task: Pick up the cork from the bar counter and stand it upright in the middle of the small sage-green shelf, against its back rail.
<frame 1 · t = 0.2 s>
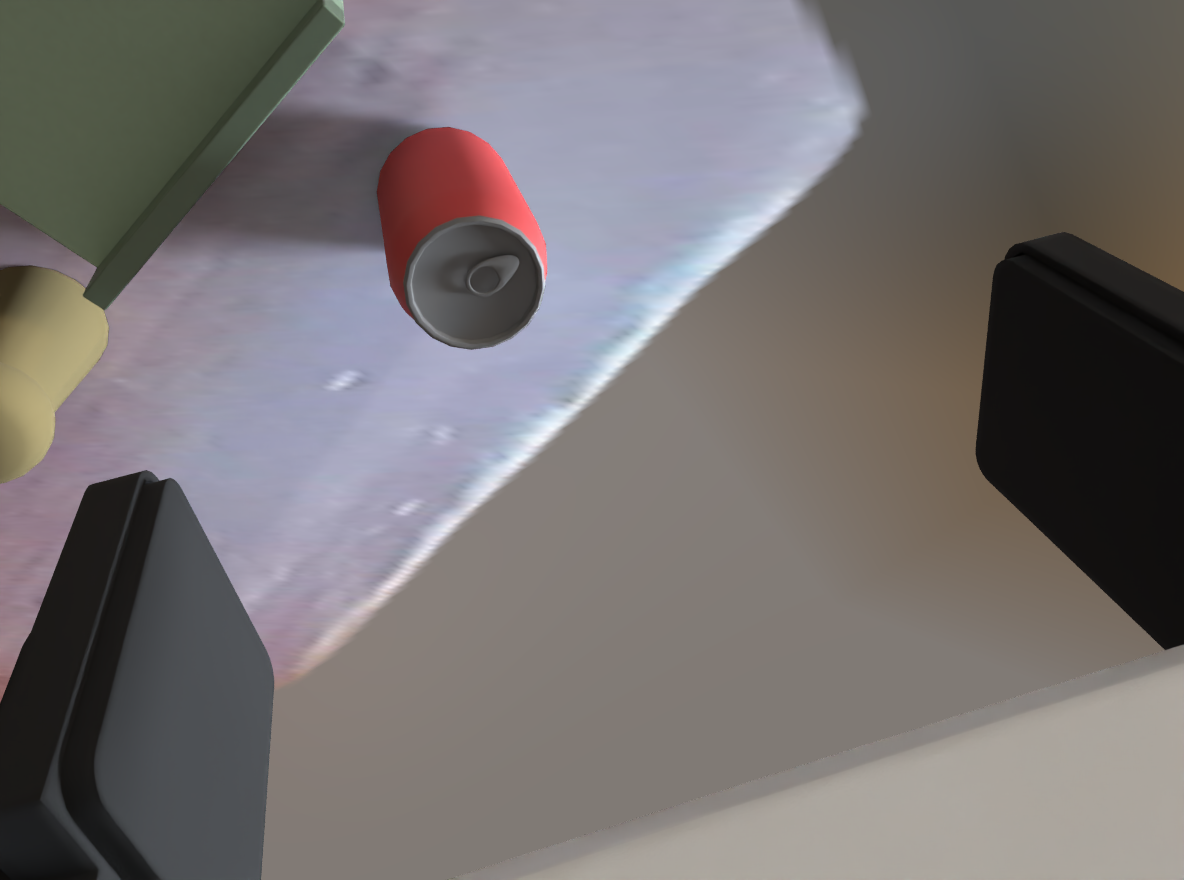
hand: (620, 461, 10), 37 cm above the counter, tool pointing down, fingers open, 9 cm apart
cork: (40, 322, 44), on the counter
shelf: (112, 22, 38), on the counter
beer can: (443, 190, 46), on the counter
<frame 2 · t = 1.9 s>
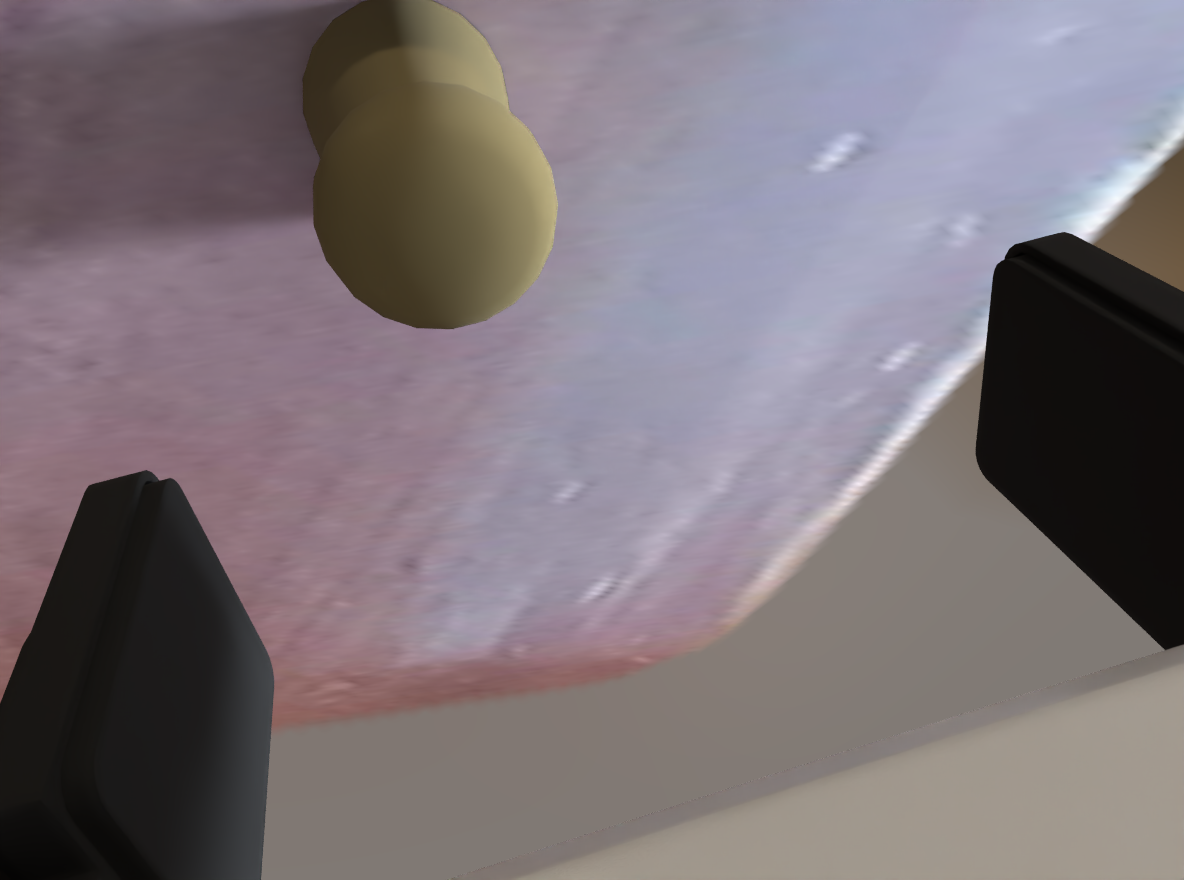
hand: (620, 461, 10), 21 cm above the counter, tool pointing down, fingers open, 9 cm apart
cork: (407, 104, 27), on the counter
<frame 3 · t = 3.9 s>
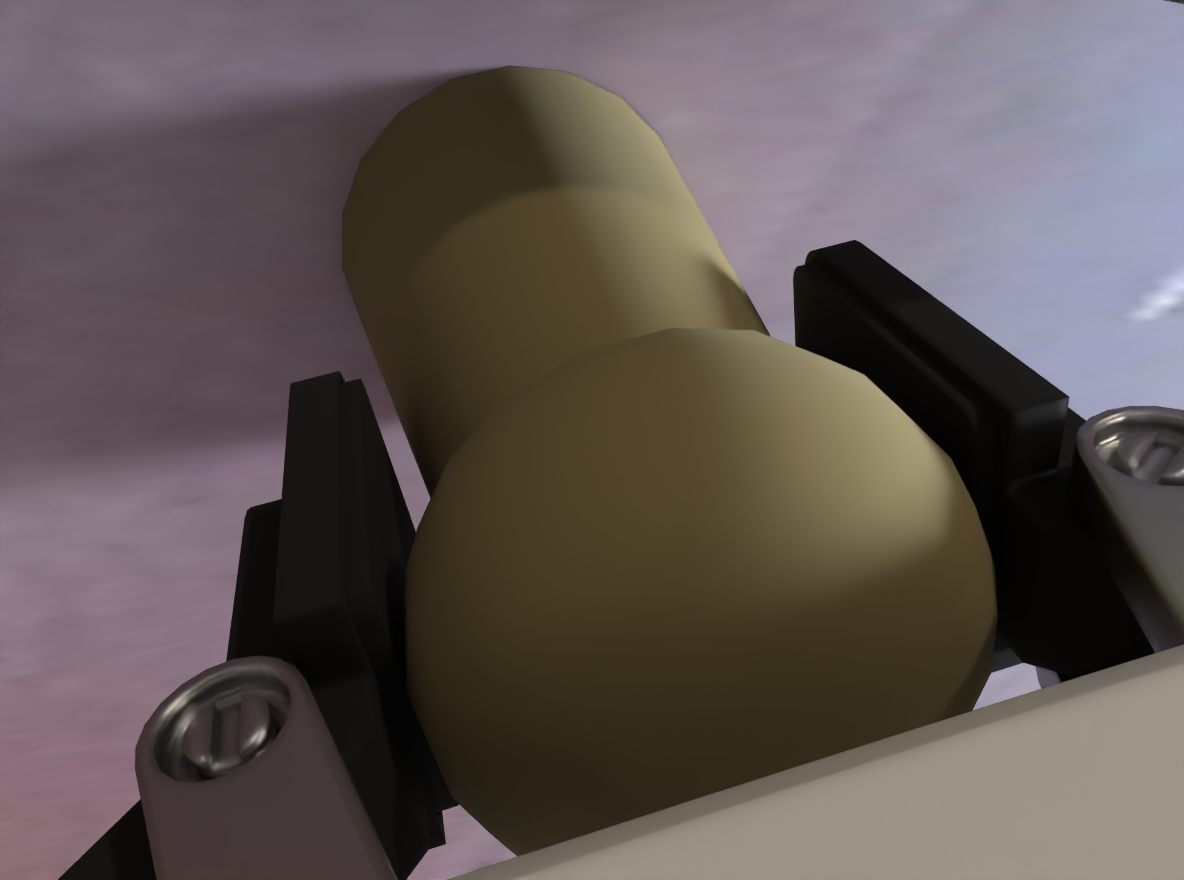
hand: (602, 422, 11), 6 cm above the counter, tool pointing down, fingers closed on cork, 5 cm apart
cork: (518, 246, 16), on the counter, touching gripper
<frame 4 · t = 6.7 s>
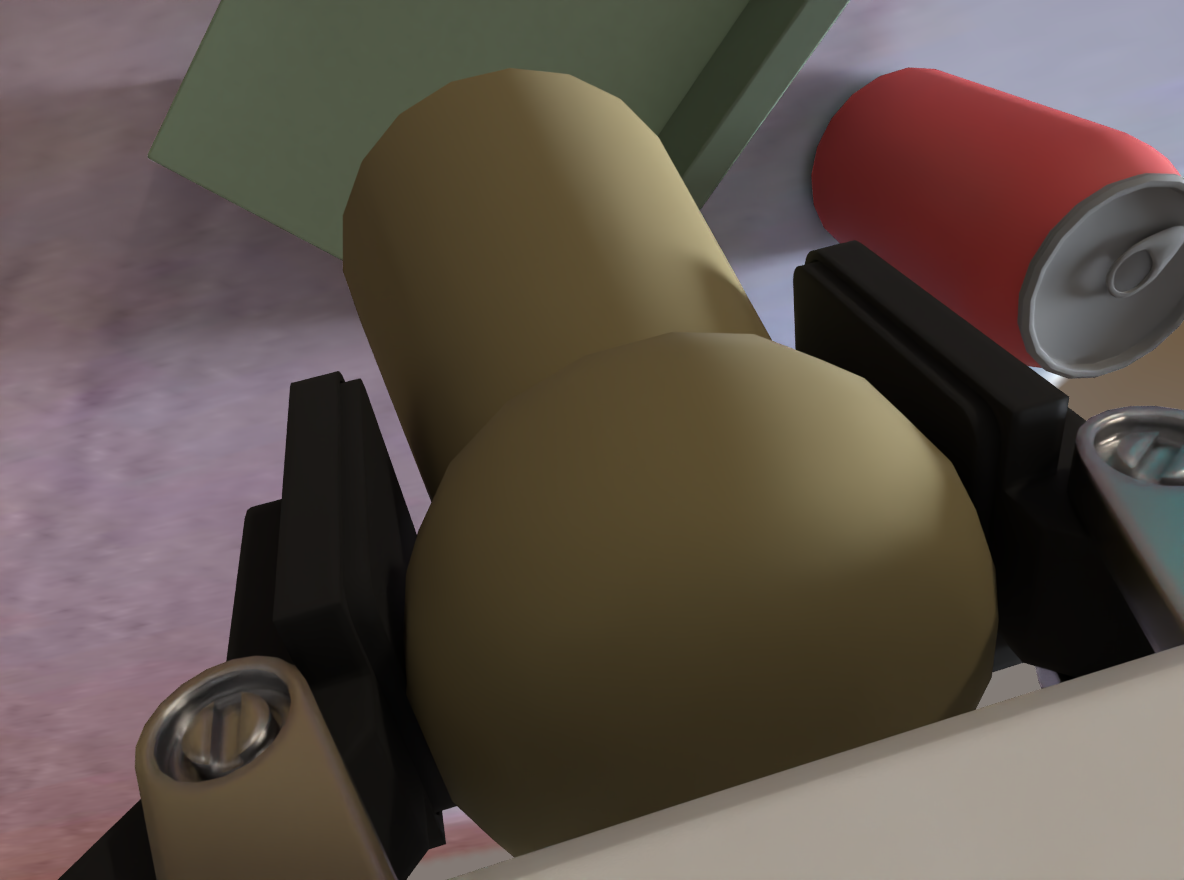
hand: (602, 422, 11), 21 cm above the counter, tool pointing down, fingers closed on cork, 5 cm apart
cork: (519, 248, 16), point 15 cm above the counter, touching gripper
shelf: (479, 7, 27), on the counter
beer can: (885, 158, 33), on the counter
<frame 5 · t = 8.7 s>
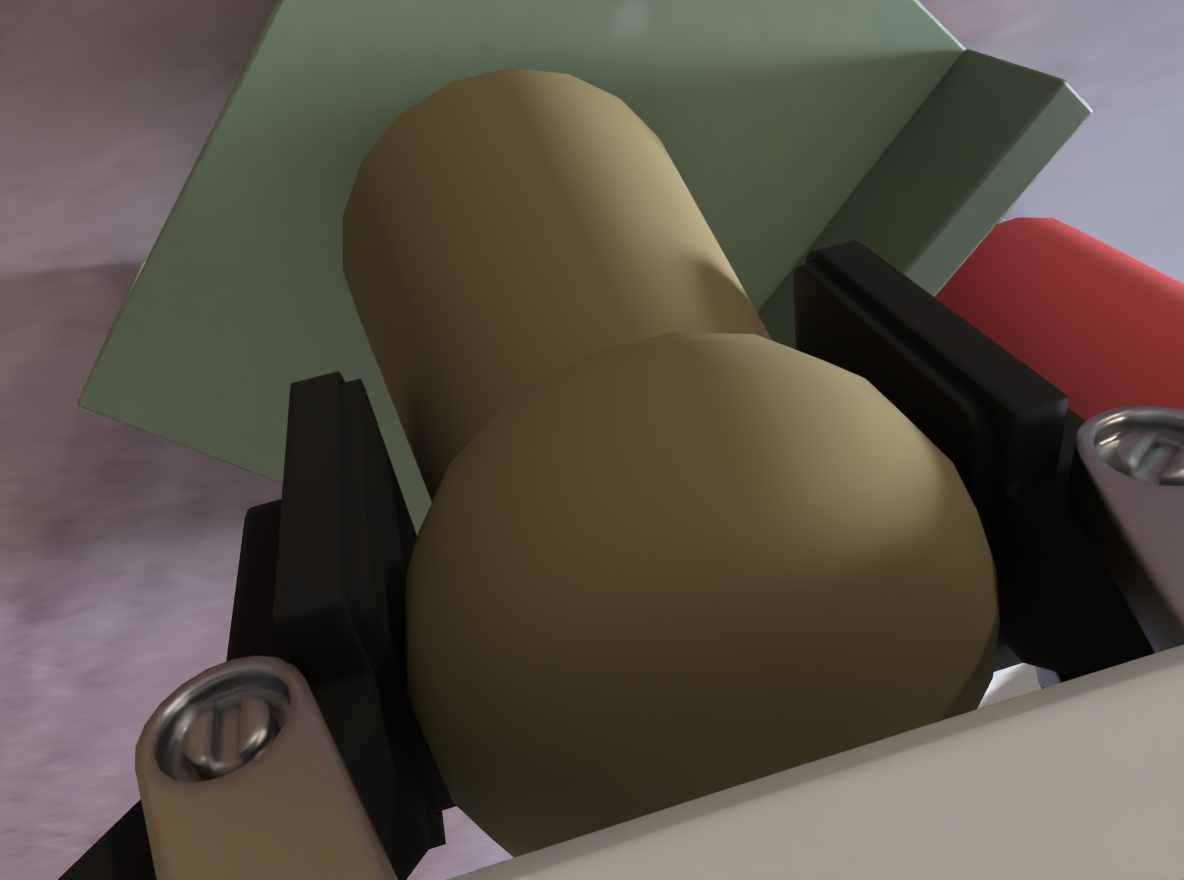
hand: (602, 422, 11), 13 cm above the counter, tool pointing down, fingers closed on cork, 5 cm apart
cork: (519, 248, 16), point 7 cm above the counter, touching gripper
shelf: (505, 164, 22), on the counter
beer can: (982, 312, 28), on the counter
when the fingers open (11 cm above the counter, at t = 9.7 s): cork stays where it is, resting on shelf.
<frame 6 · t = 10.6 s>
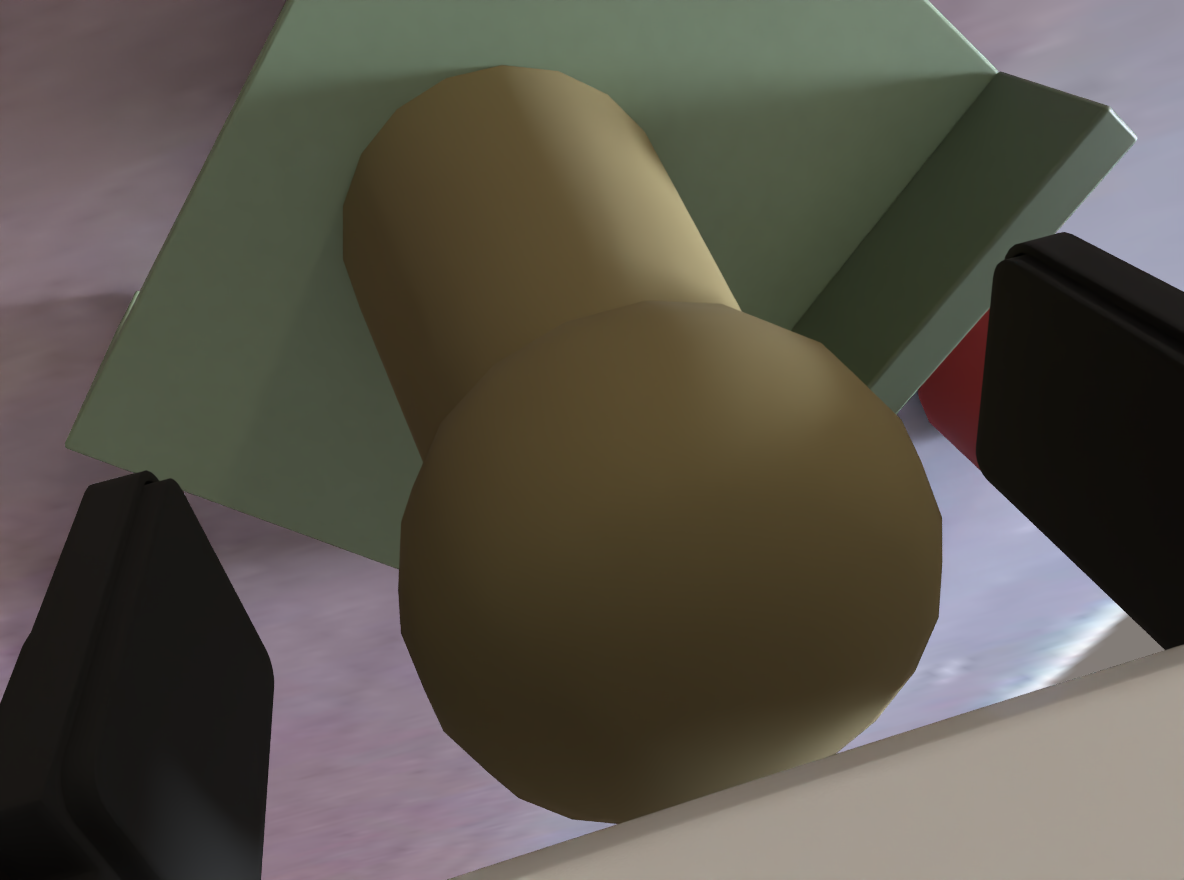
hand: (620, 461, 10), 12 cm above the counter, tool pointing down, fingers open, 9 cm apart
cork: (511, 238, 17), point 5 cm above the counter, touching shelf
shelf: (513, 189, 21), on the counter
beer can: (1004, 336, 27), on the counter
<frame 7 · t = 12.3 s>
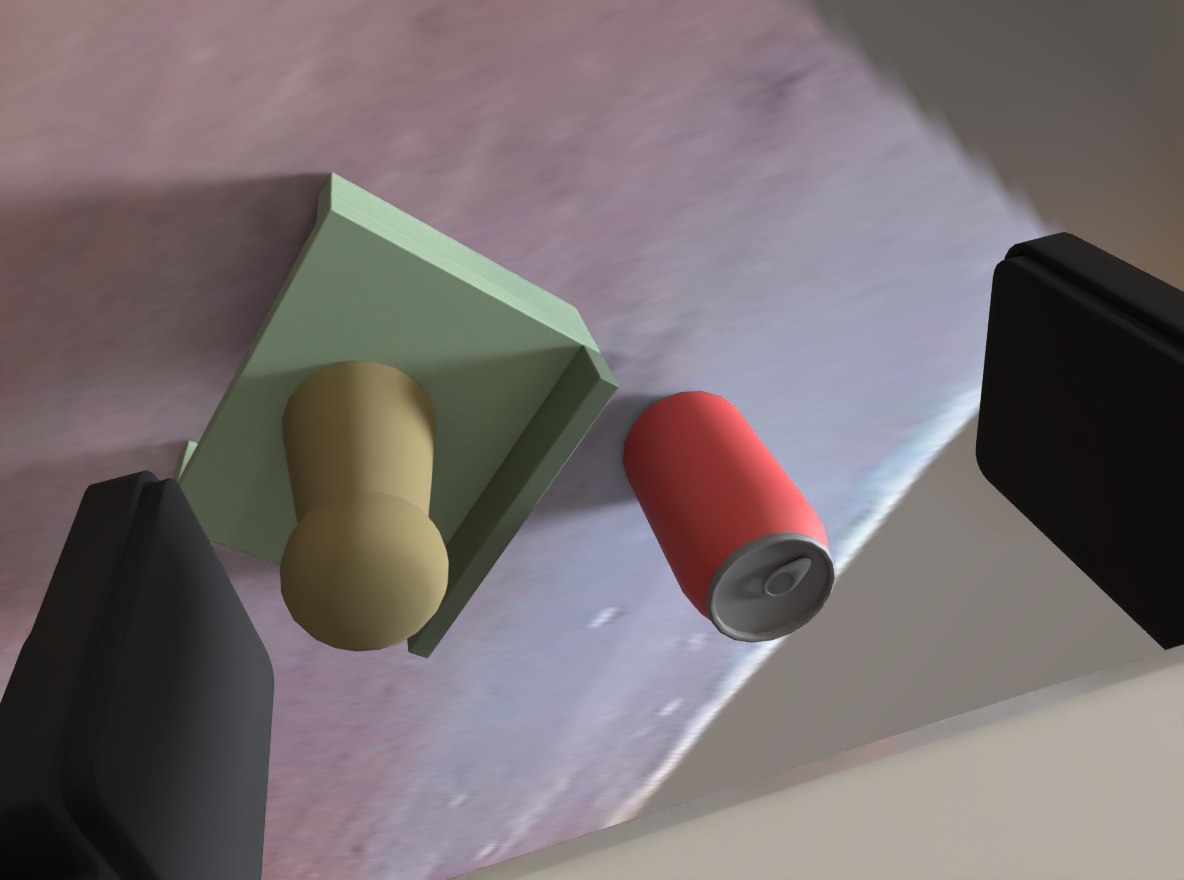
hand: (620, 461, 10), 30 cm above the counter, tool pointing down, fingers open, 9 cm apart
cork: (360, 426, 37), point 5 cm above the counter, touching shelf
shelf: (378, 383, 41), on the counter
beer can: (679, 440, 47), on the counter
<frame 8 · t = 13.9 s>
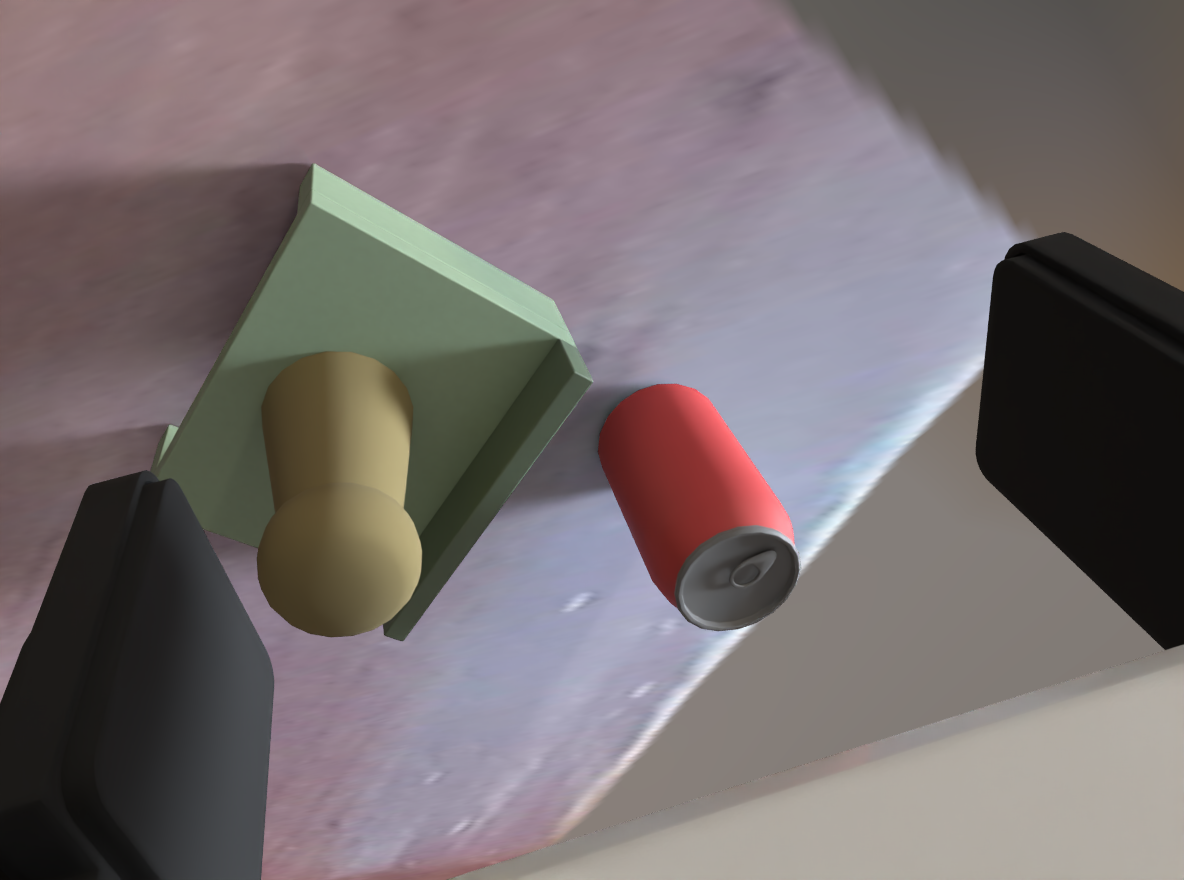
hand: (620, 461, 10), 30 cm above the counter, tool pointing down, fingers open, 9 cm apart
cork: (338, 414, 38), point 5 cm above the counter, touching shelf
shelf: (358, 371, 42), on the counter
beer can: (654, 431, 48), on the counter
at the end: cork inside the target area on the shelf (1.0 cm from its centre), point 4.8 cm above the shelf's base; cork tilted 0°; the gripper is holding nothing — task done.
